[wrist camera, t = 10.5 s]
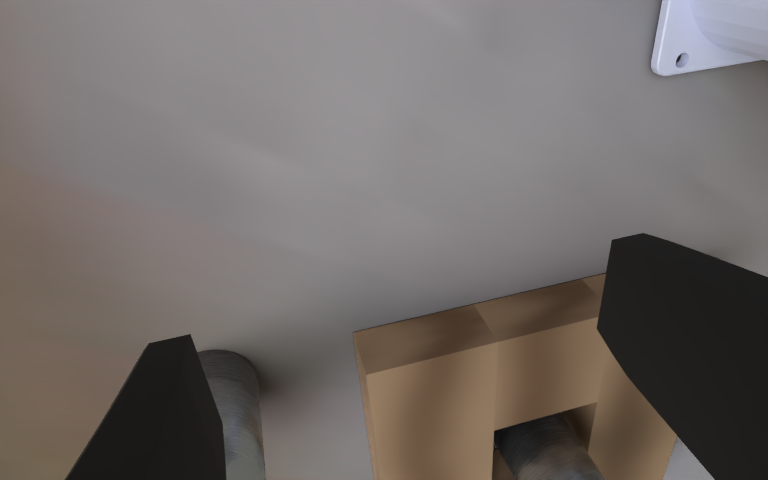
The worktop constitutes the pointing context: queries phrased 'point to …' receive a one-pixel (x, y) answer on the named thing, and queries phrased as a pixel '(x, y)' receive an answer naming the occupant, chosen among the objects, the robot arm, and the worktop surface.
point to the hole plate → (503, 388)
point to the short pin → (237, 412)
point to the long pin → (545, 451)
